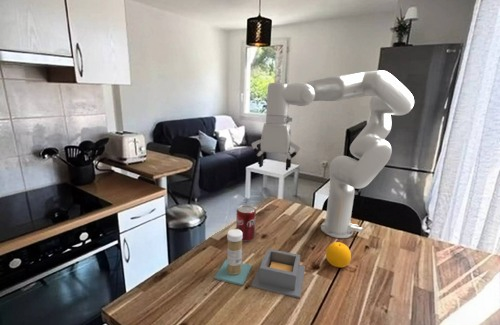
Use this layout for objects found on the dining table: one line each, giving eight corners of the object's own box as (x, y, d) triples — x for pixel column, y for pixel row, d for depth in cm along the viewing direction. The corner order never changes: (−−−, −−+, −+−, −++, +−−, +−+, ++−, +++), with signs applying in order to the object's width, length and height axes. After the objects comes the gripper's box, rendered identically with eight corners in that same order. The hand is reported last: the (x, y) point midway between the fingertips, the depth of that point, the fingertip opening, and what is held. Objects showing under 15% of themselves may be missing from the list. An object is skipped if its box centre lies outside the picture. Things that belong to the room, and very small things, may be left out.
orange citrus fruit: (350, 260, 91) (353, 241, 89) (348, 274, 84) (351, 253, 82) (326, 254, 94) (329, 235, 92) (322, 266, 87) (325, 246, 85)
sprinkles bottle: (237, 264, 86) (238, 227, 82) (243, 273, 82) (245, 234, 78) (224, 268, 84) (225, 230, 80) (230, 277, 80) (230, 237, 76)
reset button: (292, 270, 84) (293, 265, 83) (289, 284, 78) (289, 280, 77) (271, 265, 86) (271, 261, 85) (266, 279, 79) (266, 274, 79)
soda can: (255, 233, 106) (256, 205, 103) (253, 243, 99) (255, 213, 96) (237, 231, 107) (238, 204, 104) (234, 241, 100) (235, 212, 97)
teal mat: (251, 267, 86) (251, 265, 86) (242, 285, 78) (242, 283, 77) (225, 261, 88) (225, 259, 88) (214, 278, 80) (214, 276, 80)
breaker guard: (305, 267, 86) (306, 252, 85) (300, 298, 73) (301, 281, 72) (263, 258, 90) (264, 244, 89) (251, 286, 77) (252, 270, 76)
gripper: (303, 120, 93) (299, 167, 97) (255, 117, 97) (253, 162, 102) (300, 123, 86) (296, 173, 90) (249, 119, 90) (248, 167, 95)
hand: (274, 167), depth 96 cm, fingers open, 9 cm apart
